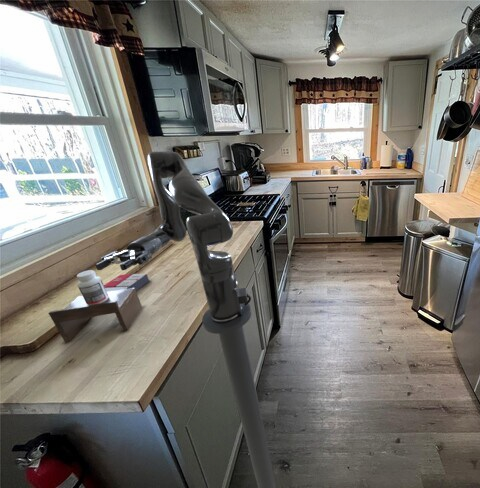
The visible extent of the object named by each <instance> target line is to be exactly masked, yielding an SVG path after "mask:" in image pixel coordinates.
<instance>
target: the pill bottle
mask: <svg viewBox="0 0 480 488" xmlns="http://www.w3.org/2000/svg"><path fill="white" fill-rule="evenodd" d="M76 278H77V280H78V282H77V287H78V289H79V291H80V294H81V296H83V298H84V300H85V302H86V304H87V305H93V304H99V303H103V302H105V301H106V300H107V299H108V298H109V296H108V294H107V292H106V289H105V287H104V285H105V284H104V282H103V280H102V278H101V277H100V276H99V275H97V274H96V272H95V270H93V269H89V270H88V269H87V270H84V271H81V272H79V273H78V274H77V275H76Z"/></svg>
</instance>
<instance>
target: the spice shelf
mask: <svg viewBox="0 0 480 488" xmlns="http://www.w3.org/2000/svg"><path fill="white" fill-rule="evenodd" d="M107 294H108V296H109V298H108V299H107V300H106V301H105V302H103V303H99V304H93V305H87V304H86V302H85V300H84V298H83V296H82V295H78V296H76V298H74V299H73V300H72V301H71V302H70V303H69V304H68V305H67V306H66V307H64V308H63V309H57V310H51V311H49V312H48V316H49V317H50V319H51V321H52V322H53V324H54V326H55V328H56V329H57V331H58V333H59V335H60V336H61V338H62V340H63V342H64V343H68V342H70V341H71V340H72V339H73V338H74V337H75V336H76V335H77V334H78V332H80V330H81V329H82V328H83V327H84V326H85V325H86V323H87V322H88V321H89V320H90V319H91V318H94V317H100V316H105V315H112V314H115V316H116V318H117V321H118V323H119V325H120V328H121V329H122V332H127V331H129V329H130V328H131V326H132V324H133V323H134V321H135V319H136V318H137V316H138V315H139V313H140V312H141V310H142V308H143V305H142V303H141V301H140V298H139V295H138V293H137V290H135V288H129V289H122V290H116V291H110V292H107Z"/></svg>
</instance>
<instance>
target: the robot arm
mask: <svg viewBox="0 0 480 488" xmlns="http://www.w3.org/2000/svg"><path fill="white" fill-rule="evenodd" d="M147 165H148V166H147V167H148V169H149V173H150V178H151V181H152V185H153V188H154V191H155V195H156V198H157V201H158V205H159V212H160V218H161V221H162V222H163V223H161V224H160V225H159V226H158V227H157V228H156V229H155V230H154V232H151V233H150V234H147V235H144V236H142V237H140V238H137V239H136V240H134V241H133V242H130V243H129V244H128V245H127V246H126V249H125V250H122V251H121V252H119V251H118V250H114V251H112V252H110V253H108V254H106V255H103V256H102V257H100V259H101V261H99V262H98V263H96V264H95V268H96V270H97V271H102V270H104V269H106V268H107V267H109V266H111V265H114V264H116V265H119V267H120V270H121V271H127V270H128V269H130V268H131V267H133V266H137V265H139V266H142V265H143V264H145V263H147V262H148V261H149V260H151V259H152V258H153V256H154V255H155V254H157V253H158V252H160V251H161V250H162V249H164V248H165V247H167V246H168V245H169V244H170V242H171V241H173V242H176V243H180V242H182V241H183V242H184V240H185V239H186V237H187V235H188V237H189V240H190V243H191V246H192V249H193V252H194V256H195V260H196V264H197V267H198V270H199V276H200V279H201V283H202V286H203V290H204V293H205V298H206V301H207V306H208V310H209V309H210V314H211V318H212V320H213V321H214V322H217V323H226V322H230V321H232V320H234V319H236V318H237V317H241V316H242V304H243V303H245V304H244V305H245V306H246V305H247V304H249V303H250V302H251V301H252V297H251V296H250V295H249V293H248V289H247V287H242V288H241V287H240V286H239V283H238V281H237V279H236V274H235V268H234V264H233V258H232V256H231V254H230V253H229V252H226V251H222V250H211V249H208V248H209V247H213V246H217V245H221V244H224V243H226V242H229V241H230V240H231V239H232V238H233V236H234V229H233V225H232V223H231V221H230V219H229V217H228V216H227V214H226V213H225V212H224V211H223V210H222V209H221V208H220V207H219V206H218V205H217V204H216V203H215V202H214V201H213V200H212V199H211V198H210V196H209V195H208V193H206V191H205V189H204V188H203V186H202V185H201V184H200V182H199V181H198V180H197V179H196V178H195V176H194V175H193V174H192V172H191V171H190V169H189V168H188V166H187V164H186V162H185V160H184V159H183V157H182V155H181V154H180V153H178V152H177V151H150V152H148V154H147ZM163 179H171V180H170V182H169V184H168V188H167V187H166V186H165V184H164V183H163ZM181 209H182V210H184V211H187V212H188V213H191V214H193V215H189V216H188V217H187V218H186V220H185V224H184V220H183V219H182V217H181ZM187 233H188V234H187ZM118 259H119V260H118ZM239 287H240V288H239Z"/></svg>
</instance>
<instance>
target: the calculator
mask: <svg viewBox="0 0 480 488" xmlns="http://www.w3.org/2000/svg"><path fill="white" fill-rule="evenodd" d="M149 281H150V279H149V276H148V274H146V273H133V274H131V273H128V274H127V273H126V274H119V275H118V276H116V277H114V278H113V279H111V280H109V281H108V282H106V283H105V284H103V285H104V287H105V289H106V292H110V291H116V290H122V289H129V288H135V290H136V291H138V290H139V289H140V288H142V287H143V286H145V285H146V284H147V283H148V282H149Z"/></svg>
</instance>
